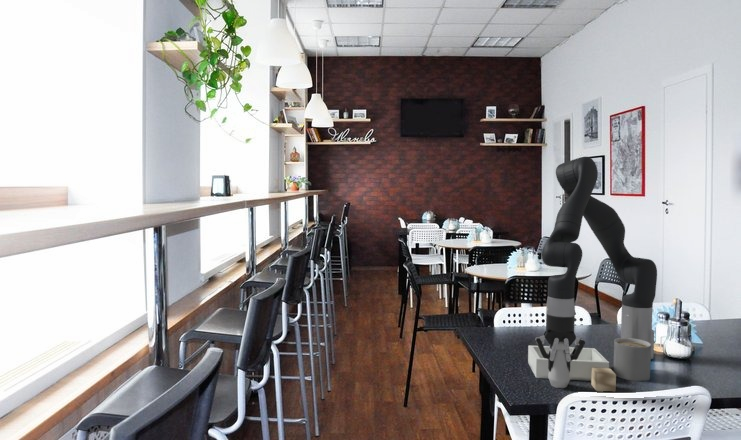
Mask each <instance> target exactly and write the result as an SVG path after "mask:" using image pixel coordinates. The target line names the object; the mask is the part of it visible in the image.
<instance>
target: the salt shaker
mask: <svg viewBox="0 0 741 440" xmlns="http://www.w3.org/2000/svg"><path fill="white" fill-rule="evenodd" d="M566 347H567V346H565V344H564V342H558V344H557V350H556V353H555V357H554V360H553V361H554V364H553V368H551V372H550V371H549V374H548V378H547V379H548V380H549V383H550V386H551V387H553V388H556V389H566V388H567V387H568V385H569V383H570V381H571V380H570V375H569V369H568V368H567V363H566V362H567V360H566V356H565V348H566Z"/></svg>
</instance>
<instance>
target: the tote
mask: <svg viewBox="0 0 741 440" xmlns="http://www.w3.org/2000/svg"><path fill="white" fill-rule="evenodd" d="M549 346H550V345H543V347H544V349H545V351H546V353H549ZM527 347H528V350H527V351H528V352H527V363H528V365H529V368H530V369H531V371H532V373H533V375H534V376H535V378H537V379H549V378H548V374H549V369H548V359H545V358H543V356H542V354H541V352H540V350H539V347H538V345H528V346H527ZM574 348H575V346H573V347H572V346H570V347H569V349H570V354H572V352H573V350H574ZM592 368H608V369H610V361H608V360H607V359H606V357H604V356H603V355H602V354H601V353H600V352H599V351H598V350H597V349H596V348H593V347H583V349H582V351H581V353H580V355H579V356H578V358H577V360H572V361H571V362H570V372H569V375H570V381H574V380H575V381H590V382H591V378H592Z"/></svg>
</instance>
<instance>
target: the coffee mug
mask: <svg viewBox="0 0 741 440" xmlns="http://www.w3.org/2000/svg"><path fill="white" fill-rule="evenodd" d="M613 341H614V342H613V370H612V371H613V372H614V373H615V374H616V377H618V378H620V379H623V380H628V381H634V382H644V381H649V380H650V379H651V362H652V361H651V360H652V359H651V344H650V343H649V342H646V341H643V340H639V339H632V338H621V337H620V338H619V337H618V338H615V339H614V340H613Z"/></svg>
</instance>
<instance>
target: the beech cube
mask: <svg viewBox="0 0 741 440" xmlns="http://www.w3.org/2000/svg"><path fill="white" fill-rule="evenodd" d="M616 383H617V376H616V374H615V373H614V372H613V370H612V369H611V368H609V369H608V368H592V378H591V381H590V384H591V386H592V387H593V388H594V390H595V391H596V392H603V391H617V389H616V386H617V385H616Z"/></svg>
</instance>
